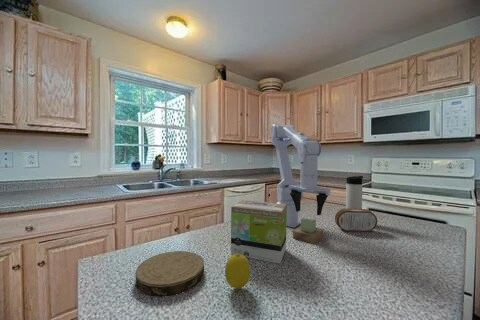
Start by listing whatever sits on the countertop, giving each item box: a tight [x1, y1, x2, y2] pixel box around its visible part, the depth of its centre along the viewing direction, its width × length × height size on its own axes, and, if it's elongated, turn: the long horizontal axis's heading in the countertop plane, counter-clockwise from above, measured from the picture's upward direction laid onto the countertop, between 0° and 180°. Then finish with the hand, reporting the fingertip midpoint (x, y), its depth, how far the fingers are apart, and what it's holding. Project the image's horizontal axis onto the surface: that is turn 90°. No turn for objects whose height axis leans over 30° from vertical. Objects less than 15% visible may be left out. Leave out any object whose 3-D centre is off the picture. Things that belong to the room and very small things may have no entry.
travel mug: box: [345, 175, 364, 209], centre depth 97 cm, size 6×7×20 cm
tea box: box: [230, 199, 288, 265], centre depth 67 cm, size 15×10×15 cm, turn 70°
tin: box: [334, 208, 378, 233], centre depth 86 cm, size 15×3×8 cm, turn 84°
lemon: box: [224, 253, 251, 290], centre depth 49 cm, size 6×6×8 cm
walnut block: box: [292, 225, 324, 245], centre depth 80 cm, size 8×8×3 cm
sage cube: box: [300, 216, 317, 233], centre depth 80 cm, size 4×4×4 cm
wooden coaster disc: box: [135, 250, 205, 298], centre depth 55 cm, size 16×16×3 cm
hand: (308, 212), depth 79 cm, fingers open, 7 cm apart
